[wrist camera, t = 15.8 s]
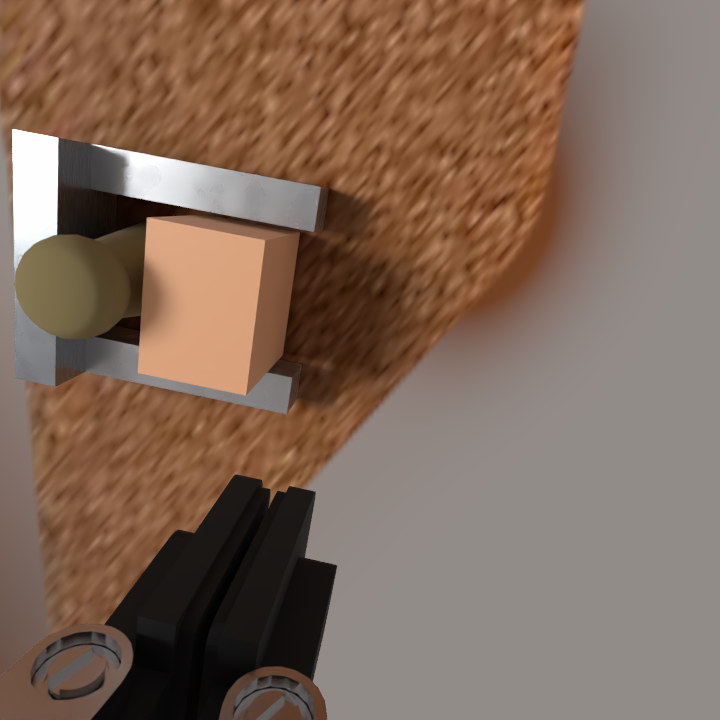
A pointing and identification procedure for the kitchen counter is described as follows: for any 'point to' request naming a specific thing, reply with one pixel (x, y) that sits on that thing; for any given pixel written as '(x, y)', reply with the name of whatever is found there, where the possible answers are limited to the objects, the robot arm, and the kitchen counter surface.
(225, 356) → the block
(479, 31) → the kitchen counter surface
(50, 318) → the cork
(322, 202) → the u-shaped metal bracket
